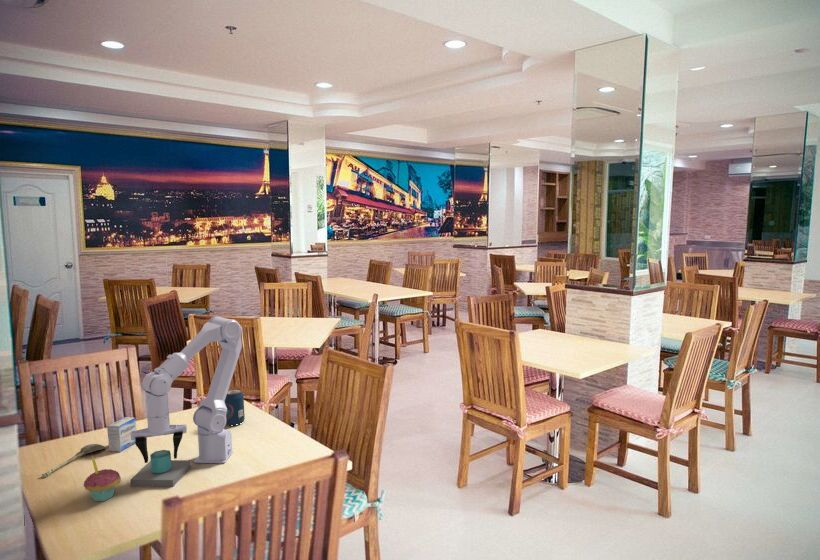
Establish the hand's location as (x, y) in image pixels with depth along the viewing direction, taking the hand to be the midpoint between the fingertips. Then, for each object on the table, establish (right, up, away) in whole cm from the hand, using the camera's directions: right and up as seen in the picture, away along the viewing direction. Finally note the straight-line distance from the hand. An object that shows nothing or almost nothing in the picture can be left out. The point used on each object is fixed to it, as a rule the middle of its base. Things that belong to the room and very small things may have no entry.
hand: (161, 459), depth 157 cm
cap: (0, -3, 0) cm, 3 cm away
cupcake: (-11, -7, -11) cm, 16 cm away
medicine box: (-22, -3, +21) cm, 30 cm away
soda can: (+8, 0, +40) cm, 41 cm away
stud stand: (0, -5, +1) cm, 5 cm away
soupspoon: (-32, -5, +11) cm, 34 cm away
